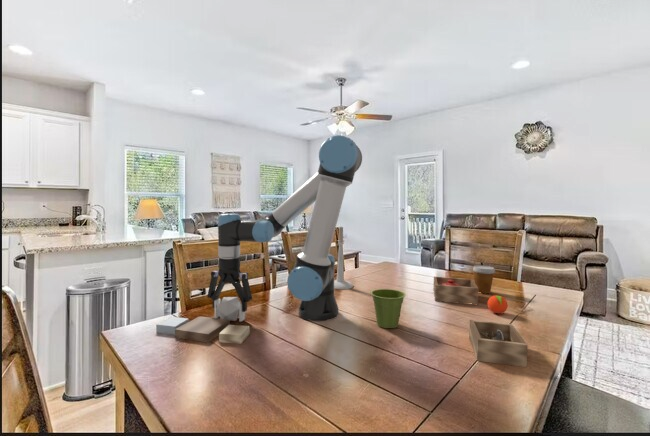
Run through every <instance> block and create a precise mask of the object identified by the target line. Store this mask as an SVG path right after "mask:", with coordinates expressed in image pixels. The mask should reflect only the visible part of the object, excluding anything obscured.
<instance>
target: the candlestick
mask: <svg viewBox="0 0 650 436" xmlns="http://www.w3.org/2000/svg"><path fill="white" fill-rule="evenodd" d="M336 241H337V244H338V255H337V256H338V257H337V271H336V272H337V273H336V279H334V290H340V291H341V290H343V291H344V290H350V289H352V288H353V287H354V284H353V283H352V282H351V281H348V280H345V275H344V271H345V270H344V248H343V245H344V242H345V240H344V227H343V226H338V240H336Z"/></svg>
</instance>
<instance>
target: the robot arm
mask: <svg viewBox="0 0 650 436" xmlns="http://www.w3.org/2000/svg"><path fill="white" fill-rule="evenodd" d="M318 160H319V166H318V170H317V172H316V173H315V174H314V175H313V176H312V177H310V178H309V179H308V180H306V182H305V183H304V184H302V185H301V186H300V187H299V188H298V189H297V190H296V191H295V192H293V193H292V194H291V195H290V196H289V197H288V198H286V200H284V201H283V202H282V203H280V204H279V206H277V208H275V209H274V210H273V211H272V212H271V213H270V214H269V215H267V216H266V217H265V218H261V219H241V215H240V214H239V213H221V214H218V219H217V235H218V243H217V247H218V248H217V256H218V259H217V260H218V261H217V263H218V270H216V269H215V270H212V271H211V272H210V277H211V278H210V283H209V287H208V290H207V298H209V299H211V300H212V309H213V310H214V315H213V316H214V317H213V318H217V319H219V317H220V316H219V313H218V311H217V309H216V308H217V307H218V305H219V304H220V302H221V298H220V296H221V293H222V291H223V289H224V287H225V285H226V284H231V285H232V286H233V287H234V289H235V292H236V293H237V297H238V299H239V301H240V303H239V316H238V318H239V321H238V322H243V321H244V320H245V319H246V312H247V311H248V303H249V302H250V301H252V300H253V295H252V291H251V287H250V286H251V285H250V283H249V272H245V273H244V272H241V257H240V256H241V242H252V243H253V242H254V243H260V244H261V243H269V242H271V241H272V239H273V238H275V237H277V236H279V235H280V234H281V233H282V232H283V229H285V228H286V227H287V226H288V225H290V223H291V222H293V221H294V220H295V219H297V218H298V217H299V216H300V215H301V214H303V212H304V211H306V210H307V209H308V208H310V206H312V205H313V204H314V206H313V209H312V213H311V218H310V221H309V226H308V230H307V233H306V238H305V241H304V246H303V250H302V251H300V252H298V253H297V255H296V259H295V262H294V266H293V269H292V270H291V271H290V272H289V274H288V276H287V280H286V281H287V282H286V283H287V287H288V290H289V291H290V294H291V295H292V296H293V297H294V298H296V299H298V300H299V301H300V303H299V306H298V317H300V318H302V319H304V320H308V321H313V322H325V321H330V320H334V319H335V318H337V317H338V316H339V306H338V303H337V299H336V296H335V289H334V280H335V265H336V261H335V256H334V255H332V254H331V253H330V251H331V246H332V243H333V241H334V240H333V239H334V236H335V232H336V228H337V224H338V221H339V217H340V212H341V208H342V205H343V200H344V198H345V193H346V190H347V188H348V186H350V185H352V184H353V181H354V177H355V175H356V172H357V171H358V170H359V169H360V167H361V164H362V163H363V155H362V151H361V149H360V148H359V146H358V145H357V144H356V142H354V140H353V139H352V138H350V137H348V136H344V135H337V134H336V135H333V136H330V137H328V138H327V139H325V140H324V141H323V142H322V144H321V146H320V148H319V149H318ZM219 277H220V278H219ZM218 278H219V281H218ZM240 279H241V280H240ZM241 284H242V285H241Z"/></svg>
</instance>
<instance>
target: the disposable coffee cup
mask: <svg viewBox="0 0 650 436" xmlns="http://www.w3.org/2000/svg"><path fill="white" fill-rule="evenodd" d="M472 271H473V277H474V279H473V281H474V282H475V284H476V285H477V287H478V288H479V291H478V292H481V293H490V294H491V292H492V291H491V290H492V285H493V280H494V274H495V273H496V270H495V267H493V266H489V265H482V264H479V265H474V266H473V268H472Z"/></svg>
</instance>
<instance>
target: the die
mask: <svg viewBox="0 0 650 436" xmlns="http://www.w3.org/2000/svg"><path fill="white" fill-rule="evenodd" d="M239 303H241V300H240V298H239V296H224V297H222V299H221V300H220V304H219V305H218V307H217V308H216V309H217V311H218V313H219V317H220V318H219V319H225V320H230V322H231V321H234V322H235V321H237V320H238V318H239Z"/></svg>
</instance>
